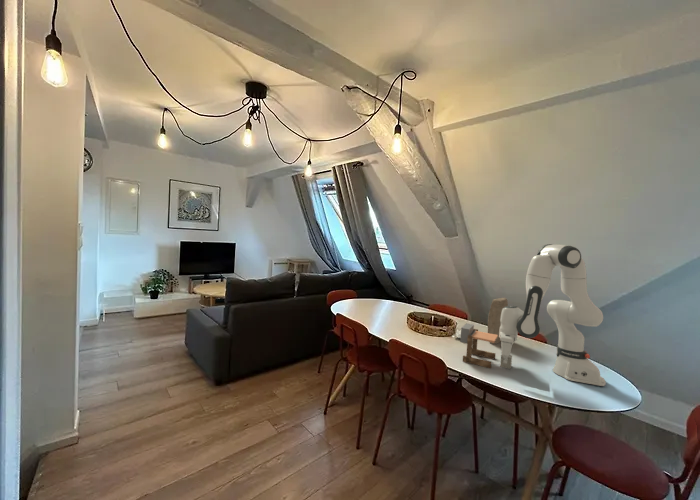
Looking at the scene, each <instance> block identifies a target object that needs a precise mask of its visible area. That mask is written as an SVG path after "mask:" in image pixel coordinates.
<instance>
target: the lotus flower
mask: <svg viewBox="0 0 700 500" xmlns="http://www.w3.org/2000/svg"><path fill="white" fill-rule="evenodd" d="M451 337H452V338H455V337H457V338H458V339H460V340H461V329H460V330H459V328H457V329H456V332H455V334H454V333H453V335H451ZM472 342H473V340H472Z"/></svg>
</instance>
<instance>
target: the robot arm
mask: <svg viewBox="0 0 700 500" xmlns="http://www.w3.org/2000/svg"><path fill="white" fill-rule="evenodd" d="M556 266H557V267H560V290H561V292H562V293H563V295H565V296H566V297H568V298H569V299H570V301H568V300H564V299H552V300H550V301H549V302H548V303H547V304H546V312H547V314H548V315H549V317H551V319H552V320H553V321H554V323H555V324H556V327H557V330H558V342H557V343H558V344H557V346H556V353H555V354H556V359H555V362H554V366H553V369H552V372H554V374H556V375H558V376H560V377H561V378H564V379H566V380H568V381H572V382H577V383H584V384H589V385H594V386H600V387H605V386H606V385H607V384H606V379H605V378H604V377H602V376H601V372H600V369H599V367H598V366H597V365H596V364H594V362H592V361H591V360H590V358H591V356H590V354H589V353H588V352H587V351H586V350H584V349H585V348H584V347H585V336H584V334H583V332H581V331H580V330H578V328H577V327H576V325H581V326H584V327H594V328H595V327H599V326H600V325H601V324H602V322H603V320H604V314H603V311H602V310H601V309H600V308H599V307H598V306H596V304H594V303H593V301H592V299H591V298H590V296H589V293H588V287H587V285H588V283H587V269H586V268H587V267H586V263H585V260H584V258H582V253H581V251H580V250H579V248H577V247H576V246H572V245H567V244H560V243H559V244H553V243H551V244H544V245H542V246H540V247H539V249H538V251H537V253H536V255H534V256H533V257H532V258H531V259H530V262H529V264H528V268H527V271H526V276H525V291H526V301H525V306H524V310H523V309H521V308H520V307H519V306H516V305H508V306H506V307H504V308H503V309H502V312H501V319H500V322H501V326H500V330H499V337H500V341H501V342H500V345H501V346H500V347H501V355H502V356H503V358H504V361H503V362H504V363H506V364H507V360H508V357H509V356H510V355H511V351H512V348H513V344H514V343H515V342H516V341H518V334H519V335H520V336H521V337H523V338H526V339H533V338H535V337H537V336H538V335H539V334H540V328H541V327H540V323H539V319H538V318H539V313H540V308H541V305H542V304H541V303H542V300H543V298H544V296H545V295H546V292H547V291H548V289H549V286H550V283H551V280H552V275H553V269H554V268H555V267H556Z"/></svg>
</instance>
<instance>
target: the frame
mask: <svg viewBox="0 0 700 500" xmlns="http://www.w3.org/2000/svg"><path fill="white" fill-rule="evenodd" d="M474 331H479V329H477V328H474V330H473V332H474ZM472 340H473V341H472ZM472 355H475V356H479V357H480V356H481V357H484V358H488V359H494V360H496V352H493V351H492V352H491V351H486V350H482V349H478V339H473V336H471V335H468V339H467V343H466V355H463V356H462V362H463V363H466V364H467V363H468V364H472V365H475V366H481V367H484V368H488V369H491V368H492V361H490V360H484V359H480V358H476V357H472Z"/></svg>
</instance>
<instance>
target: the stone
mask: <svg viewBox="0 0 700 500" xmlns="http://www.w3.org/2000/svg"><path fill="white" fill-rule="evenodd" d="M503 361H504V358H503V356H502V354H501V355H500V363H499V364H500V367H501V368H506V369H509V370H511V368H512V365H513V364H512V362H513V355H512V354H510V356H509V357H508V360H507V364H506V363H504V362H503Z"/></svg>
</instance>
